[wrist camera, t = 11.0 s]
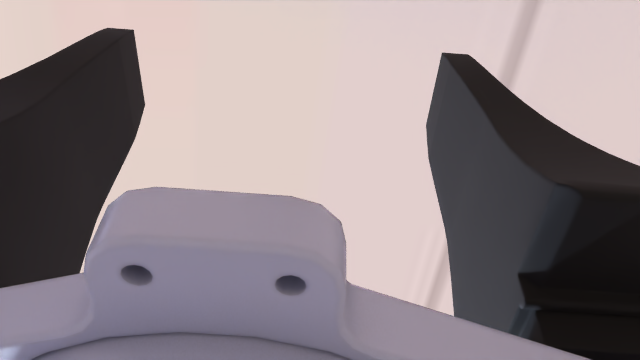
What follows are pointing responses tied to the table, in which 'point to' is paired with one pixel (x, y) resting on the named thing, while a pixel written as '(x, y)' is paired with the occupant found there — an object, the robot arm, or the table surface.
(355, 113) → the table surface
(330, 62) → the table surface
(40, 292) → the robot arm
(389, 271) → the table surface
